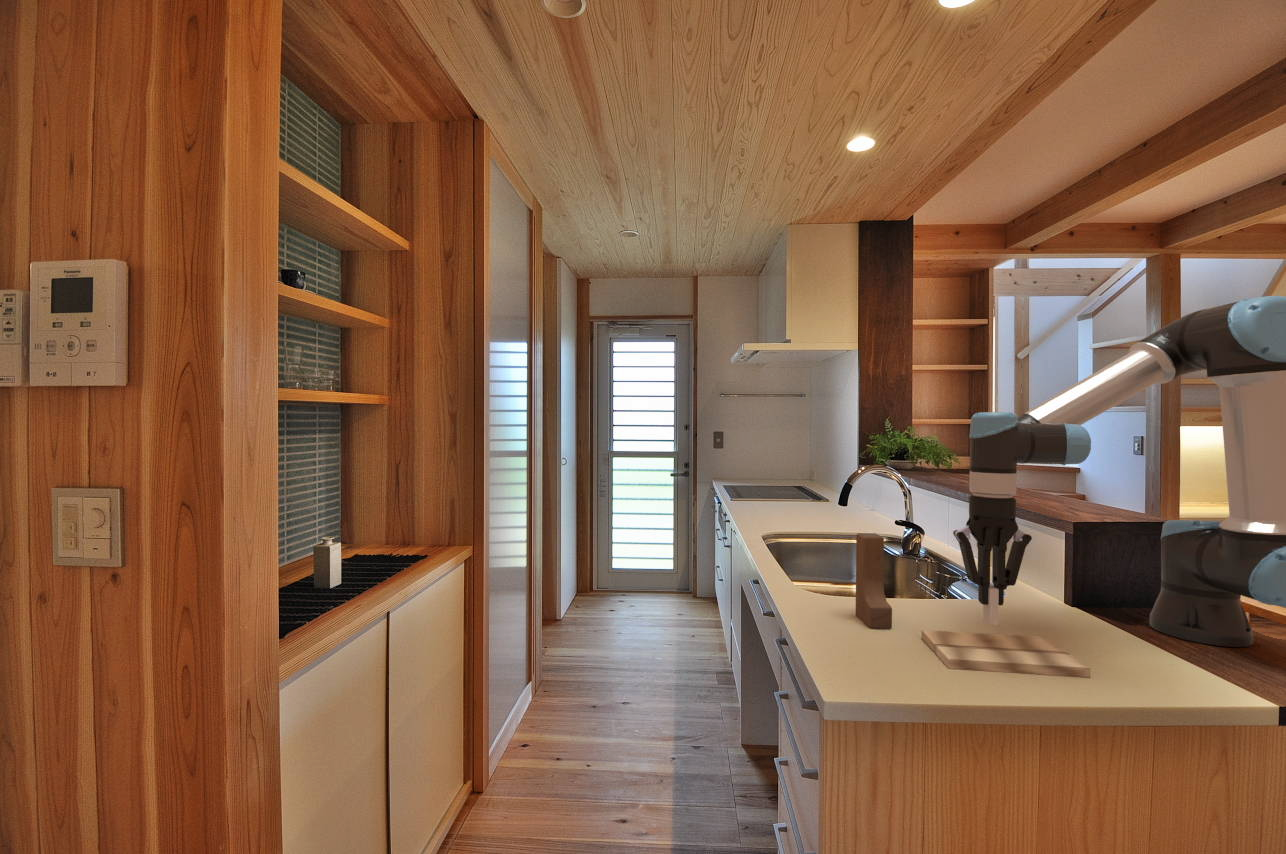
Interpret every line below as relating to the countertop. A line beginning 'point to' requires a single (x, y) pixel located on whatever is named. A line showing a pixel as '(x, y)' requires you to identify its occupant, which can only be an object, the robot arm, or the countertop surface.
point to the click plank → (988, 641)
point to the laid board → (1011, 660)
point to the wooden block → (871, 582)
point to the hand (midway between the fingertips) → (990, 621)
